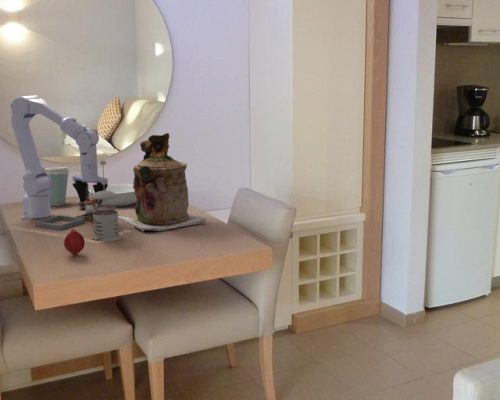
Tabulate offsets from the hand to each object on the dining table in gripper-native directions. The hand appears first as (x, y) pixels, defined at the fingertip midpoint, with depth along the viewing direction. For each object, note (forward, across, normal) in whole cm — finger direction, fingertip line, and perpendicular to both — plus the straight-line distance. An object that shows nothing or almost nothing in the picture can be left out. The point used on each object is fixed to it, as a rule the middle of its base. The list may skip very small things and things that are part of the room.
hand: (91, 202), depth 216 cm
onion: (+7, -24, +33) cm, 42 cm away
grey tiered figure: (+7, +14, -12) cm, 20 cm away
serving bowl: (+7, +11, -26) cm, 29 cm away
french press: (+7, -18, +13) cm, 23 cm away
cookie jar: (+7, -22, -11) cm, 26 cm away
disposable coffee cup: (+7, +33, -16) cm, 37 cm away
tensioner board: (+7, +2, -3) cm, 8 cm away
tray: (+7, +4, +11) cm, 14 cm away
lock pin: (+6, 0, 0) cm, 6 cm away
